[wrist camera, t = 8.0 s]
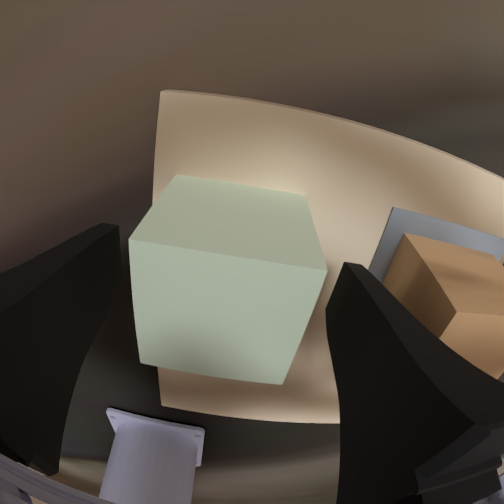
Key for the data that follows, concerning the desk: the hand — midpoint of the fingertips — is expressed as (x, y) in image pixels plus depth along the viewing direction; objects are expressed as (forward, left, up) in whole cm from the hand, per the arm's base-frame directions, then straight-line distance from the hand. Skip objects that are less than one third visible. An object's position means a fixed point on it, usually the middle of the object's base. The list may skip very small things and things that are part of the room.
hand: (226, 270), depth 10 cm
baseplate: (-4, -5, -3) cm, 7 cm away
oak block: (-1, -9, -2) cm, 9 cm away
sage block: (0, 0, -2) cm, 2 cm away
